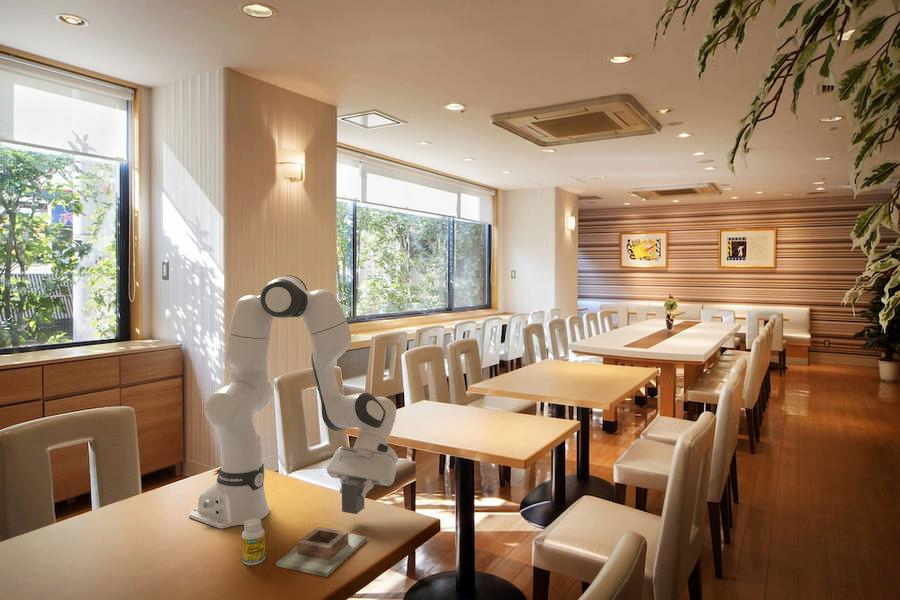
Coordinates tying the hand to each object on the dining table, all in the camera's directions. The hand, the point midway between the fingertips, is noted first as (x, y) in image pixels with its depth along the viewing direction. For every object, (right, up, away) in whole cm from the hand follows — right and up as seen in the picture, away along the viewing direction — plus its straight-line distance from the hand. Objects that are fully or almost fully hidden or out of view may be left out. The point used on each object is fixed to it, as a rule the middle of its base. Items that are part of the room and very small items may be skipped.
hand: (352, 495), depth 160 cm
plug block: (0, -4, +1) cm, 4 cm away
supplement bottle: (-21, -10, -19) cm, 30 cm away
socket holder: (-5, -9, -15) cm, 18 cm away
